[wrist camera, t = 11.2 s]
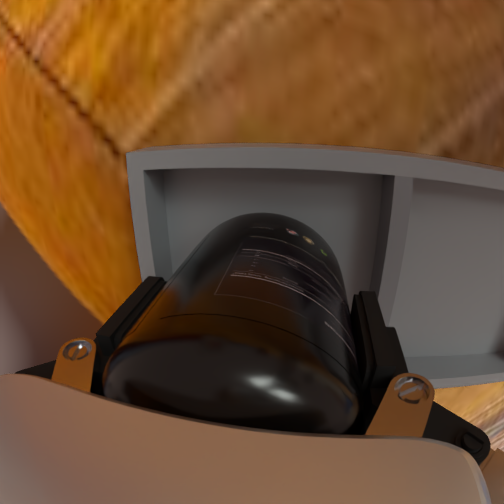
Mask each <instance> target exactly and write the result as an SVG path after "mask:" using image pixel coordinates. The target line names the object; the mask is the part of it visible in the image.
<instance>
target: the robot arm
mask: <svg viewBox="0 0 504 504" xmlns="http://www.w3.org/2000/svg"><path fill="white" fill-rule="evenodd" d="M166 283H167V281H165V280H164V278H163V277H156V276H148V277H147V278H146V279H145V280H144V281H143V282H142V283H141V284H140V285H139V287H138V288H137V289H136V290H135V291H134V292H133V293H132V294H131V295H130V296H129V297H128V298H127V299H126V301H125V302H124V303H123V304H122V305H121V306H120V307H119V308H118V309H117V310H116V312H115V313H114V314H113V315H112V316H111V317H110V318H109V319H108V320H107V322H106V323H105V324H104V325H103V326H102V327H101V328H100V330H99V331H98V332H97V333H96V336H97V337H96V338H95V340H94V341H92V340H90V339H88V338H76V339H73V340H70V341H68V342H67V343H65V344H64V345H63V346H62V347H61V348H60V350H59V353H58V357H57V360H55V361H51V362H48V363H44V364H41V365H38V366H34V367H31V368H28V369H24V370H21V371H18V372H16V373H14V374H4V375H0V504H504V452H503V451H501V450H500V449H498V448H497V449H496V451H494V450H493V449H491V448H490V441H489V438H488V436H487V435H486V434H485V433H484V432H483V431H482V430H481V429H479V428H477V427H476V426H474V425H472V424H471V423H469V422H467V421H466V420H464V419H462V418H461V417H459V416H457V415H455V414H454V413H452V412H450V411H449V410H447V409H445V408H444V407H442V406H441V405H439V404H437V403H436V402H434V401H433V399H434V394H435V390H434V388H433V385H432V384H431V383H430V381H429V380H427V379H426V378H425V377H423V376H421V375H418V374H414V373H409V372H408V369H407V365H406V362H405V358H404V355H403V351H402V348H401V345H400V341H399V338H398V335H397V332H396V329H395V328H394V327H386V326H385V323H384V319H383V316H382V312H381V309H380V306H379V302H378V299H377V296H376V293H375V291H360V292H359V295H357V294H354V296H353V302H352V308H351V314H350V315H351V321H352V326H353V332H354V338H355V344H356V350H357V356H358V363H359V369H360V376H361V383H362V390H363V398H364V408H365V434H364V435H338V434H317V433H300V432H287V431H276V430H266V429H257V428H249V427H242V426H235V425H228V424H221V423H215V422H209V421H204V420H198V419H193V418H188V417H183V416H178V415H173V414H169V413H164V412H160V411H156V410H152V409H147V408H143V407H139V406H136V405H132V404H128V403H124V402H121V401H117V400H114V399H110V398H107V397H104V396H100V386H101V378H102V374H103V371H104V368H105V365H106V363H107V361H108V359H109V358H110V356H111V354H112V353H113V351H114V350H115V348H116V347H117V345H118V344H119V343H120V341H121V340H122V339H123V337H124V336H125V335H126V333H127V332H128V331H129V330H130V328H131V327H132V326H133V324H134V323H135V322H136V320H137V319H138V318H139V317H140V315H141V314H142V313H143V312H144V310H145V309H146V308H147V306H148V305H149V304H150V303H151V301H152V300H153V299H154V298H155V296H156V295H157V294H158V293H159V291H160V290H161V289H162V288H163V286H164V285H165V284H166Z"/></svg>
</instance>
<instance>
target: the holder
mask: <svg viewBox="0 0 504 504" xmlns="http://www.w3.org/2000/svg"><path fill="white" fill-rule="evenodd" d="M126 160H127V172H128V183H129V193H130V202H131V210H132V218H133V226H134V233H135V241H136V247H137V254H138V260H139V266H140V272H141V278H142V282H143V281H144V280H145V279H146V278H147V277H148V276H156V277H163V278H164V280H165V281H168V280H169V279H170V278H171V276H172V275H173V274H174V273H175V271H176V270H177V269H178V268H179V267H180V265H181V264H182V263H183V262H184V260H185V259H186V258H187V257H188V256H189V254H190V253H191V252H192V251H193V250H194V248H195V247H196V246H197V245H198V244H199V243H200V242H201V240H202V239H203V238H204V237H205V236H206V235H207V234H208V233H209V232H210V231H211V230H213V229H214V228H215V227H217V226H218V225H219V224H221V223H223V222H225V221H227V220H229V219H231V218H234V217H236V216H239V215H244V214H249V213H260V212H265V213H275V214H281V215H284V216H288V217H291V218H294V219H296V220H298V221H300V222H302V223H304V224H306V225H307V226H309V227H311V228H312V229H313V230H315V231H316V232H317V233H318V234H319V235H320V236H321V237H322V238H323V239H324V240H325V241H326V242H327V243H328V245H329V246H330V247H331V249H332V250H333V252H334V254H335V256H336V258H337V260H338V263H339V265H340V269H341V272H342V276H343V280H344V284H345V289H346V294H347V300H348V305H349V310H350V314H351V308H352V302H353V296H354V294H357V295H359V292H360V291H375V293H376V296H377V299H378V302H379V306H380V309H381V312H382V316H383V319H384V323H385V326H386V327H394V328H395V329H396V332H397V335H398V338H399V341H400V345H401V348H402V351H403V355H404V358H405V362H406V365H407V369H408V372H409V373H414V374H418V375H421V376H423V377H425V378H426V379H427V380H429V381H430V383H431V384H432V385H433V388H434V389H437V388H449V387H460V386H470V385H479V384H487V383H494V382H501V381H504V168H501V167H496V166H491V165H486V164H481V163H476V162H470V161H465V160H459V159H453V158H446V157H440V156H433V155H426V154H419V153H411V152H403V151H394V150H384V149H374V148H363V147H350V146H335V145H317V144H291V143H215V144H189V145H171V146H156V147H149V148H144V149H140V150H136V151H132V152H128V153H126Z"/></svg>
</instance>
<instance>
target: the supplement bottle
mask: <svg viewBox="0 0 504 504" xmlns="http://www.w3.org/2000/svg"><path fill="white" fill-rule="evenodd" d="M100 396H104V397H107V398H110V399H114V400H117V401H121V402H124V403H128V404H132V405H136V406H139V407H143V408H147V409H152V410H156V411H160V412H164V413H169V414H173V415H178V416H183V417H188V418H193V419H198V420H204V421H209V422H215V423H221V424H228V425H235V426H242V427H249V428H257V429H266V430H276V431H287V432H300V433H317V434H338V435H364V434H365V408H364V398H363V390H362V383H361V376H360V369H359V363H358V356H357V350H356V344H355V338H354V332H353V326H352V321H351V315H350V310H349V305H348V300H347V294H346V289H345V284H344V280H343V276H342V272H341V269H340V265H339V263H338V260H337V258H336V256H335V254H334V252H333V250H332V249H331V247H330V246H329V245H328V243H327V242H326V241H325V240H324V239H323V238H322V237H321V236H320V235H319V234H318V233H317V232H316V231H315V230H313V229H312V228H311V227H309V226H307V225H306V224H304V223H302V222H300V221H298V220H296V219H294V218H291V217H288V216H284V215H281V214H275V213H265V212H260V213H249V214H244V215H239V216H236V217H234V218H231V219H229V220H227V221H225V222H223V223H221V224H219V225H218V226H217V227H215V228H214V229H213V230H211V231H210V232H209V233H208V234H207V235H206V236H205V237H204V238H203V239H202V240H201V242H200V243H199V244H198V245H197V246H196V247H195V248H194V250H193V251H192V252H191V253H190V254H189V256H188V257H187V258H186V259H185V260H184V262H183V263H182V264H181V265H180V267H179V268H178V269H177V270H176V271H175V273H174V274H173V275H172V276H171V278H170V279H169V280H168V281H167V283H166V284H165V285H164V286H163V288H162V289H161V290H160V291H159V293H158V294H157V295H156V296H155V298H154V299H153V300H152V301H151V303H150V304H149V305H148V306H147V308H146V309H145V310H144V312H143V313H142V314H141V315H140V317H139V318H138V319H137V320H136V322H135V323H134V324H133V326H132V327H131V328H130V330H129V331H128V332H127V333H126V335H125V336H124V337H123V339H122V340H121V341H120V343H119V344H118V345H117V347H116V348H115V350H114V351H113V353H112V354H111V356H110V358H109V359H108V361H107V363H106V365H105V368H104V371H103V374H102V378H101V386H100Z"/></svg>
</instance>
